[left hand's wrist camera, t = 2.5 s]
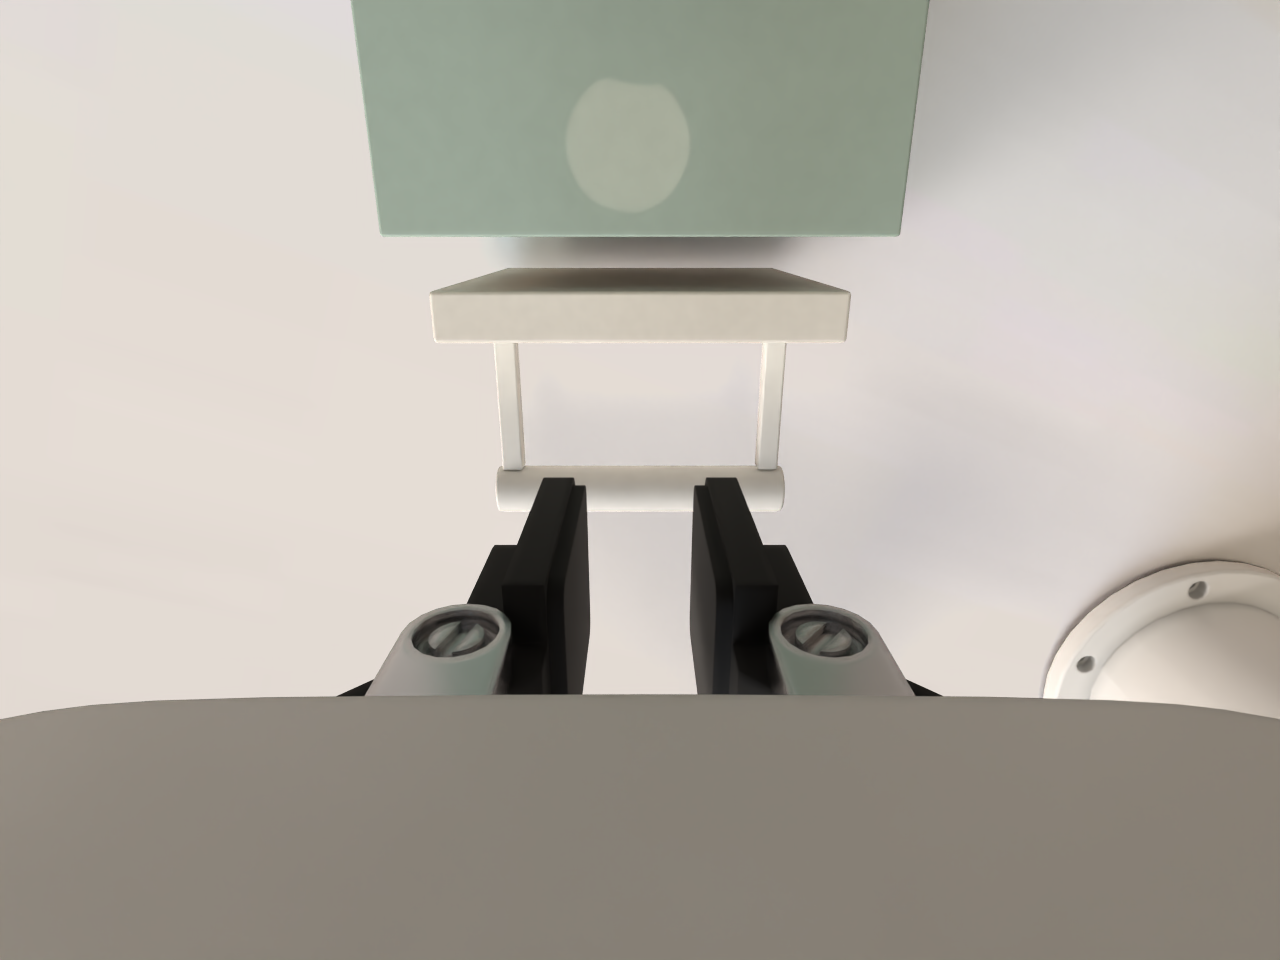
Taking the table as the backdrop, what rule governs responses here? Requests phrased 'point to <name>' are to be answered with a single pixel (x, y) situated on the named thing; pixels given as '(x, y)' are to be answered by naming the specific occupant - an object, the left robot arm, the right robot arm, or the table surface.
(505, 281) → the drawer
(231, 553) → the table surface
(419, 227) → the mint green storage box
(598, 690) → the table surface
